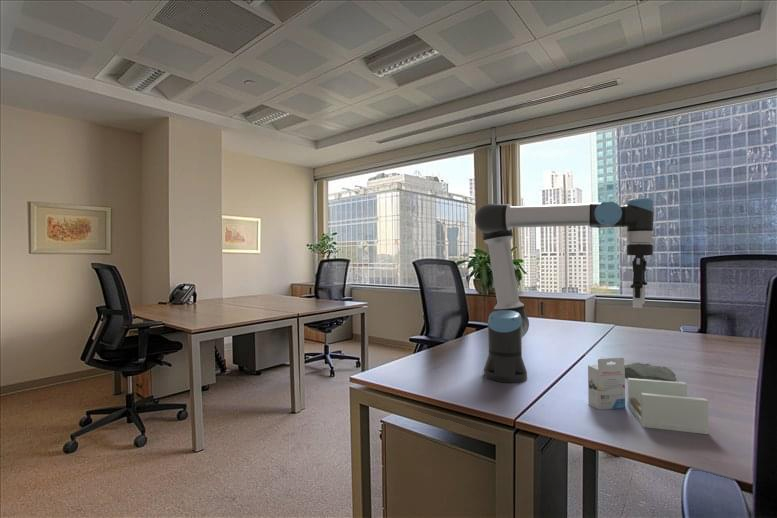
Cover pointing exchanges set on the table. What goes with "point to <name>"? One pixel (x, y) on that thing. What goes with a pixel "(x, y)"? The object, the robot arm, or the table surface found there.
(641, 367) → the stone
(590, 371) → the ink box
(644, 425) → the rack
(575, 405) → the table surface
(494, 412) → the table surface
